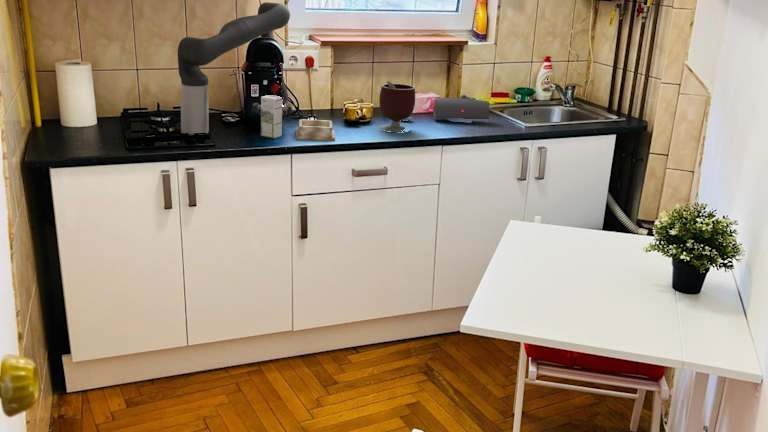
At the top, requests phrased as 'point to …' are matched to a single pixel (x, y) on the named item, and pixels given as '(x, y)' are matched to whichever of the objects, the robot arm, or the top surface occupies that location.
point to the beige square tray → (315, 130)
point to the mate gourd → (396, 104)
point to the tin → (357, 101)
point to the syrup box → (271, 116)
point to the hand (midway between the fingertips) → (271, 112)
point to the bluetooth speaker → (461, 108)
